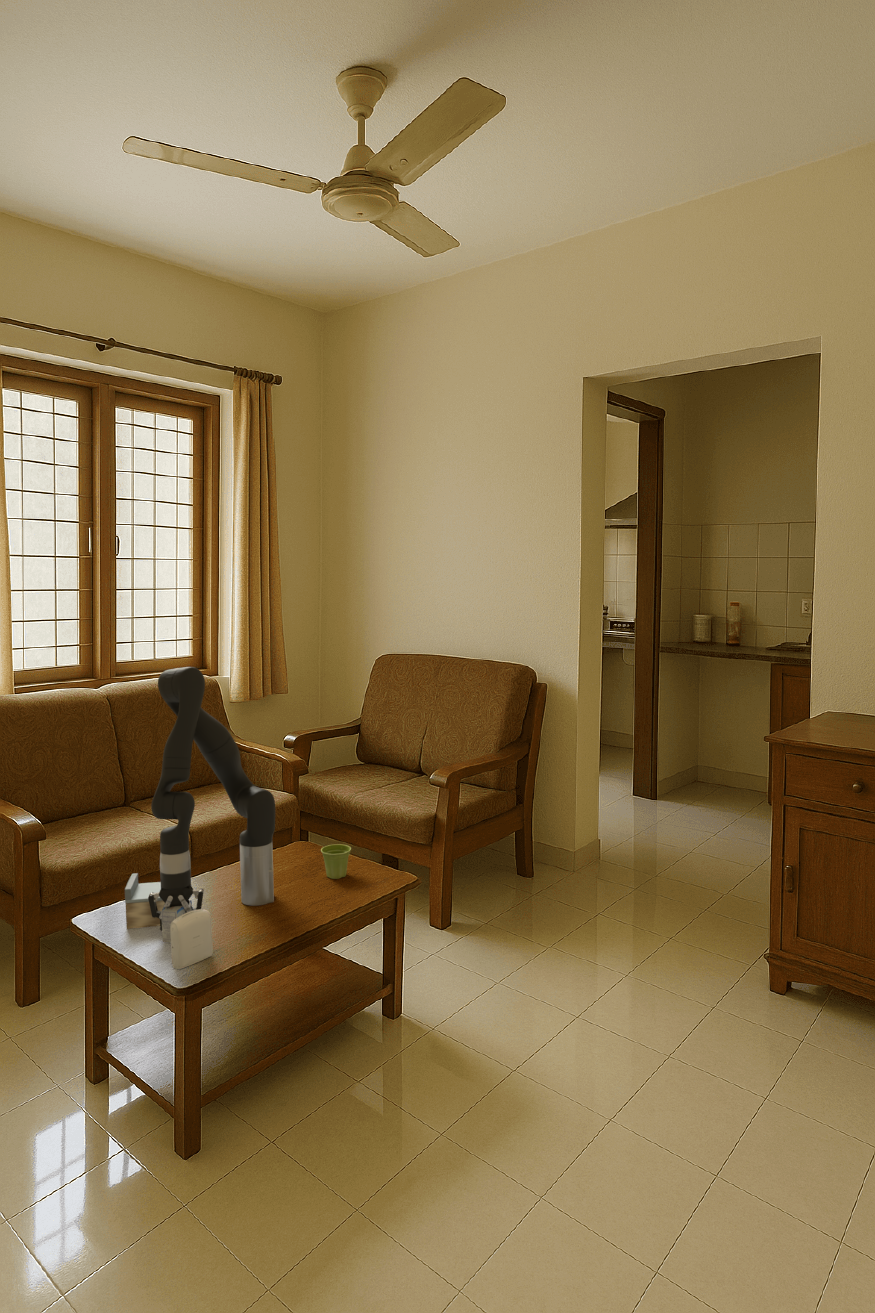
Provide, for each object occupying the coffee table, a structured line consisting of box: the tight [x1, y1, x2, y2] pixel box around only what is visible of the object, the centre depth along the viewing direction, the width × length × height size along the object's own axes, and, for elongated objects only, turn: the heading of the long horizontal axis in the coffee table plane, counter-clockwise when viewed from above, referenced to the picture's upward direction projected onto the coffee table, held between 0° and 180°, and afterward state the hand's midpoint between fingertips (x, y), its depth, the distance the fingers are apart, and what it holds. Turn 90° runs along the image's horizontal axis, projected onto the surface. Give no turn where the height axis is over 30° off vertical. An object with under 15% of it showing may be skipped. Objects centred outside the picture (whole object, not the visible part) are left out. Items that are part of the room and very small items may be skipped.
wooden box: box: [125, 900, 165, 930], centre depth 224 cm, size 14×11×7 cm
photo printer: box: [170, 908, 214, 970], centre depth 199 cm, size 10×4×12 cm, turn 140°
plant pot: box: [320, 843, 352, 880], centre depth 256 cm, size 9×9×9 cm
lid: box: [124, 872, 162, 904], centre depth 224 cm, size 14×12×4 cm
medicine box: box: [161, 899, 193, 944], centre depth 212 cm, size 8×4×9 cm, turn 169°
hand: (177, 930), depth 213 cm, fingers closed on medicine box, 5 cm apart
